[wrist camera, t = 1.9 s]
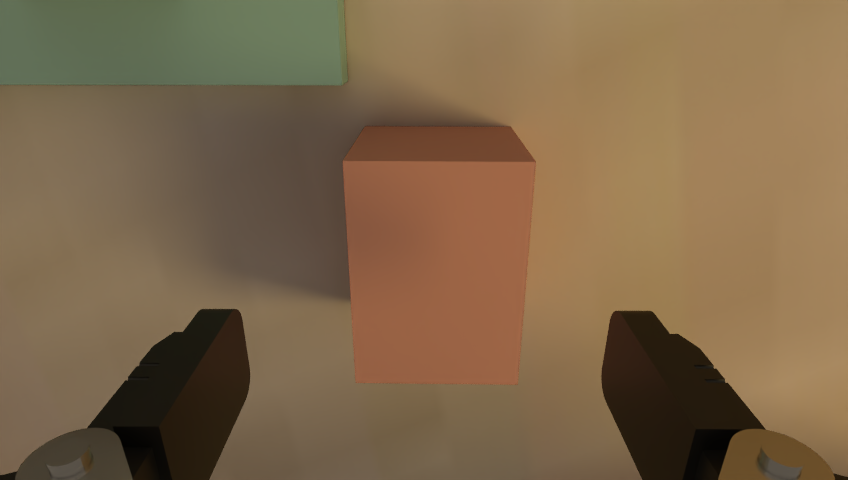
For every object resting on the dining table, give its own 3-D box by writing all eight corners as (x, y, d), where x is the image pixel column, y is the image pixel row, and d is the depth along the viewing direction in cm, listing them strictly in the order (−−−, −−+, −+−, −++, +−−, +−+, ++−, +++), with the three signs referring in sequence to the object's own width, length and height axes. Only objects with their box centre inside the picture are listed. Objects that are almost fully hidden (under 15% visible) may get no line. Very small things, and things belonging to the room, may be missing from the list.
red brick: (510, 125, 18) (535, 161, 14) (499, 304, 21) (517, 384, 16) (365, 125, 18) (342, 160, 14) (372, 303, 21) (355, 382, 17)
